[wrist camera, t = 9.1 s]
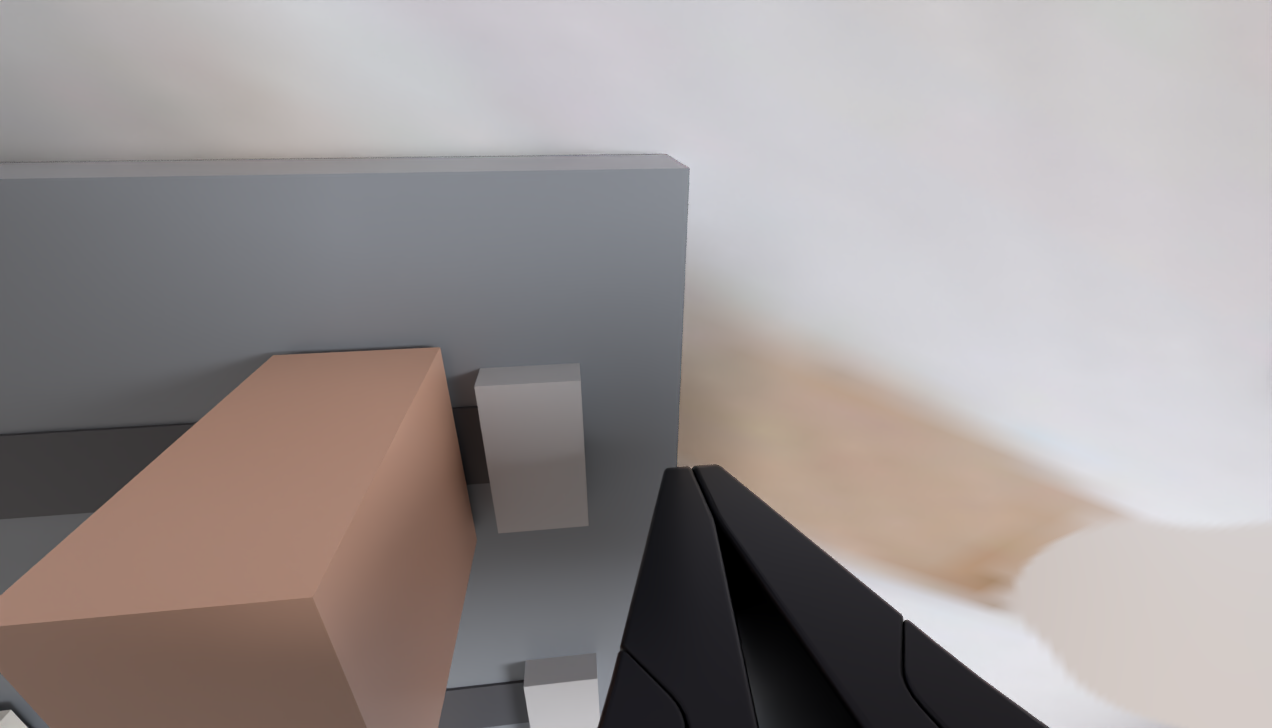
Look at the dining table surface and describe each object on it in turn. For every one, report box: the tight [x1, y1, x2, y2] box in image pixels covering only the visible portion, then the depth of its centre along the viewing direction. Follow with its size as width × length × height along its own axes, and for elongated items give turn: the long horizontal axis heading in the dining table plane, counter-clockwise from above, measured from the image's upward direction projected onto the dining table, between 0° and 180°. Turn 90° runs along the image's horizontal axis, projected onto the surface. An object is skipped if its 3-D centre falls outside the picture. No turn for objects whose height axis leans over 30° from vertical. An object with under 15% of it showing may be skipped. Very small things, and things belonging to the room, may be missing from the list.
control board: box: [0, 154, 690, 728], centre depth 13 cm, size 20×24×3 cm
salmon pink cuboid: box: [0, 347, 477, 728], centre depth 7 cm, size 2×4×4 cm, turn 0°
